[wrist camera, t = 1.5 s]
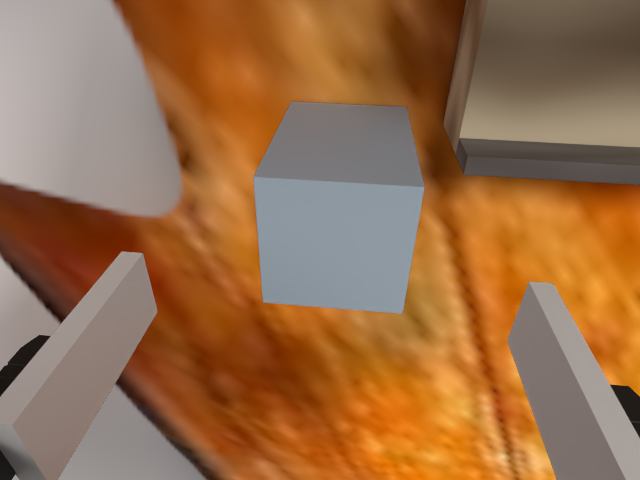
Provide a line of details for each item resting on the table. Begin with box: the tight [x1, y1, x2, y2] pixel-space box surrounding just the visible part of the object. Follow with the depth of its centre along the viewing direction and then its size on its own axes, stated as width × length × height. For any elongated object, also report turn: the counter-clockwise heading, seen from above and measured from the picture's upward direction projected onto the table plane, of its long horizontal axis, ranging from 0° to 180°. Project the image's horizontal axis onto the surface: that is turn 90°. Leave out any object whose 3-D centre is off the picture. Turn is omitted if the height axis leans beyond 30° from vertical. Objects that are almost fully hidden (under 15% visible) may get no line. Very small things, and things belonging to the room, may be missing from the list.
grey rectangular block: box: [253, 102, 425, 314], centre depth 20 cm, size 6×6×9 cm
